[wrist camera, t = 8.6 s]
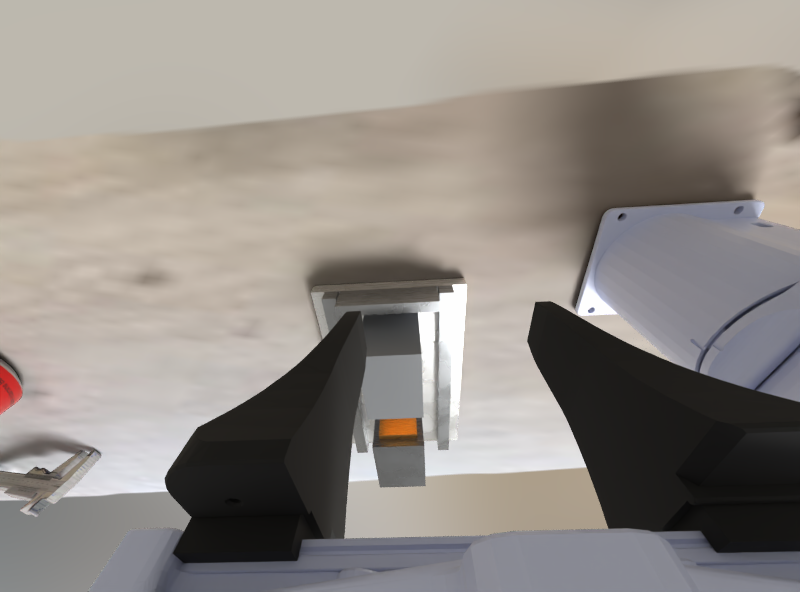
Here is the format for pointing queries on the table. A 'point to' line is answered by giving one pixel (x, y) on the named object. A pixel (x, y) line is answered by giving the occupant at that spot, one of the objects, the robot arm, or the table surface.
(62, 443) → the table surface
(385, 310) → the rail
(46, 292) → the table surface
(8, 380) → the soda can
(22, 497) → the caliper
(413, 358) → the block
